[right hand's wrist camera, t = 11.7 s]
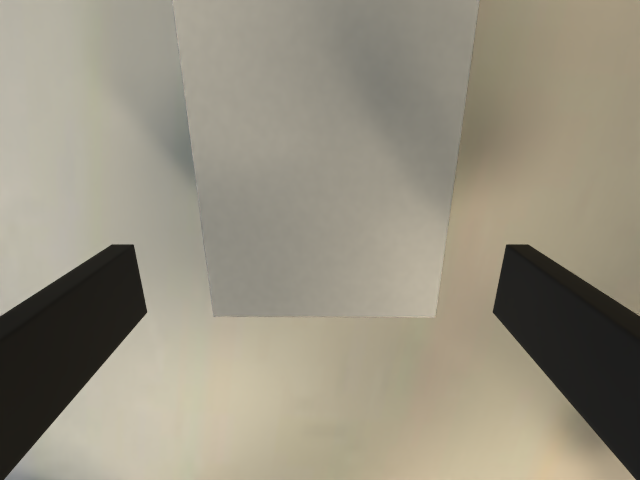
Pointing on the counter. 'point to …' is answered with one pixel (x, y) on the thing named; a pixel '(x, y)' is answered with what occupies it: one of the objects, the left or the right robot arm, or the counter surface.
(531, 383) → the counter surface
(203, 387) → the counter surface
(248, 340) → the counter surface
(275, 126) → the cabinet
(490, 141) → the counter surface
